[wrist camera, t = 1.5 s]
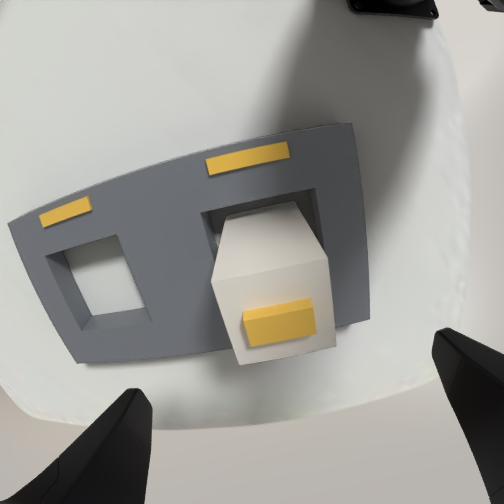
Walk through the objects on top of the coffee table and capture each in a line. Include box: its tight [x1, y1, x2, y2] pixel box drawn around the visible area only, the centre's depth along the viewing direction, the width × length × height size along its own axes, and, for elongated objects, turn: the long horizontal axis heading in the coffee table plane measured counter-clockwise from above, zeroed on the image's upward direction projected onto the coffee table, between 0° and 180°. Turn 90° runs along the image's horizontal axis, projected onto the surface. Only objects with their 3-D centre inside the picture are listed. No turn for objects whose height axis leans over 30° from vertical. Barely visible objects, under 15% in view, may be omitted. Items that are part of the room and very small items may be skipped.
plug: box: [211, 201, 336, 365], centre depth 14 cm, size 4×4×9 cm
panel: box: [8, 123, 370, 364], centre depth 18 cm, size 22×12×2 cm, turn 103°
